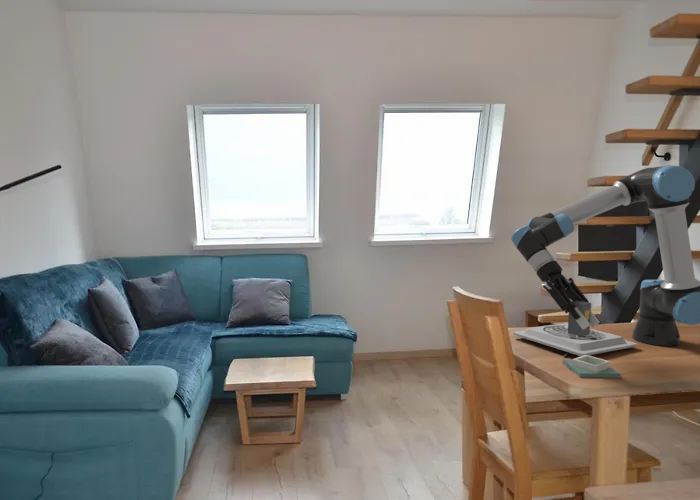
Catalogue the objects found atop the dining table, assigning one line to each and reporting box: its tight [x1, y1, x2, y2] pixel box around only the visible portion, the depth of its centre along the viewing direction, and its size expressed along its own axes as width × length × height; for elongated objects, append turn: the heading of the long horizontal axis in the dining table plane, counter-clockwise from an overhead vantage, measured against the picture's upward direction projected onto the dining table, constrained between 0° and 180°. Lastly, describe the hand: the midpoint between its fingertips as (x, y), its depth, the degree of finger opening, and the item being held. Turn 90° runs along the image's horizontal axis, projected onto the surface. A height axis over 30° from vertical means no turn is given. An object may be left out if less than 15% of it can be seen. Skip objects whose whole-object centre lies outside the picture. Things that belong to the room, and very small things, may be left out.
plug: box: [567, 300, 592, 337], centre depth 150 cm, size 4×5×10 cm
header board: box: [562, 355, 622, 379], centre depth 148 cm, size 12×12×3 cm
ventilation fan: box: [512, 322, 638, 357], centre depth 175 cm, size 30×6×30 cm
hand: (591, 325), depth 147 cm, fingers closed on plug, 4 cm apart
